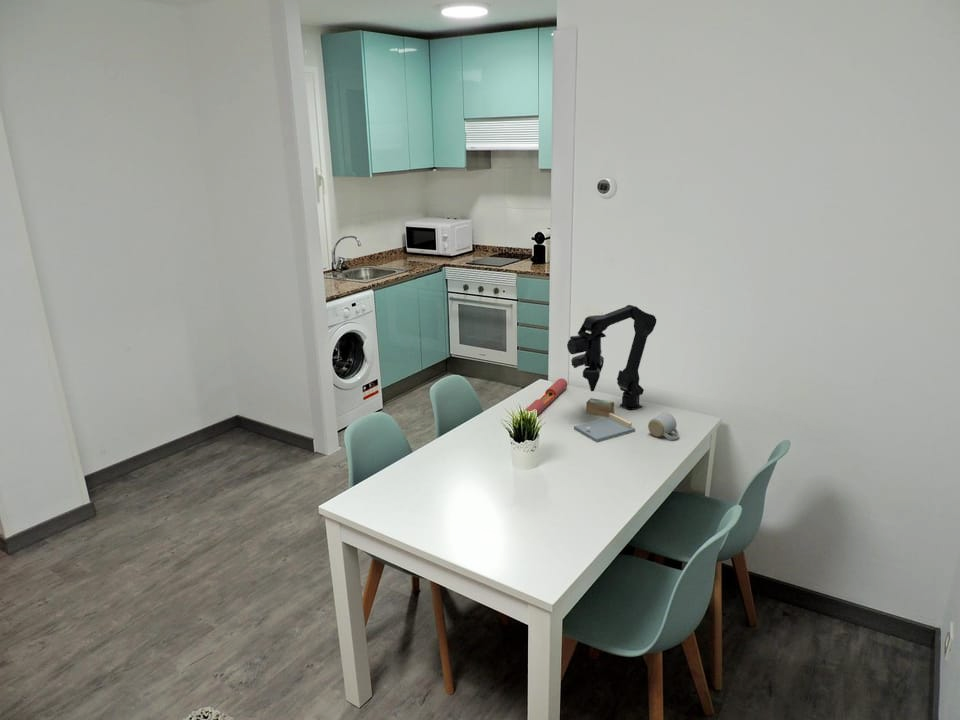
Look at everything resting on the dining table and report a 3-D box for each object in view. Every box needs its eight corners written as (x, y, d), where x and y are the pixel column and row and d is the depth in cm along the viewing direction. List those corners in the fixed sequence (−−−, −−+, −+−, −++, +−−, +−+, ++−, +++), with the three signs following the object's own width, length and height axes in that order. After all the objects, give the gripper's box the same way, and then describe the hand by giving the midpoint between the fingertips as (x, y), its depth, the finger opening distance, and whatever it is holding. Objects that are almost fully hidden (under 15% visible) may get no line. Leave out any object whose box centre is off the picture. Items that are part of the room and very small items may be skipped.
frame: (590, 409, 270) (590, 397, 268) (614, 413, 265) (614, 401, 263) (586, 413, 265) (586, 401, 264) (610, 417, 261) (610, 405, 259)
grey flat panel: (611, 418, 259) (611, 411, 258) (635, 431, 247) (635, 423, 246) (573, 428, 251) (574, 421, 250) (596, 442, 239) (596, 434, 238)
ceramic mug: (646, 434, 244) (647, 415, 242) (658, 428, 250) (660, 409, 247) (670, 443, 237) (672, 424, 234) (683, 436, 242) (685, 417, 239)
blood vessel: (556, 388, 295) (556, 377, 293) (567, 389, 293) (567, 379, 291) (519, 422, 259) (519, 410, 258) (531, 424, 257) (531, 412, 256)
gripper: (575, 341, 265) (576, 377, 270) (569, 356, 248) (569, 394, 253) (603, 342, 262) (603, 378, 267) (598, 357, 245) (599, 396, 250)
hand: (593, 386), depth 259 cm, fingers open, 9 cm apart
